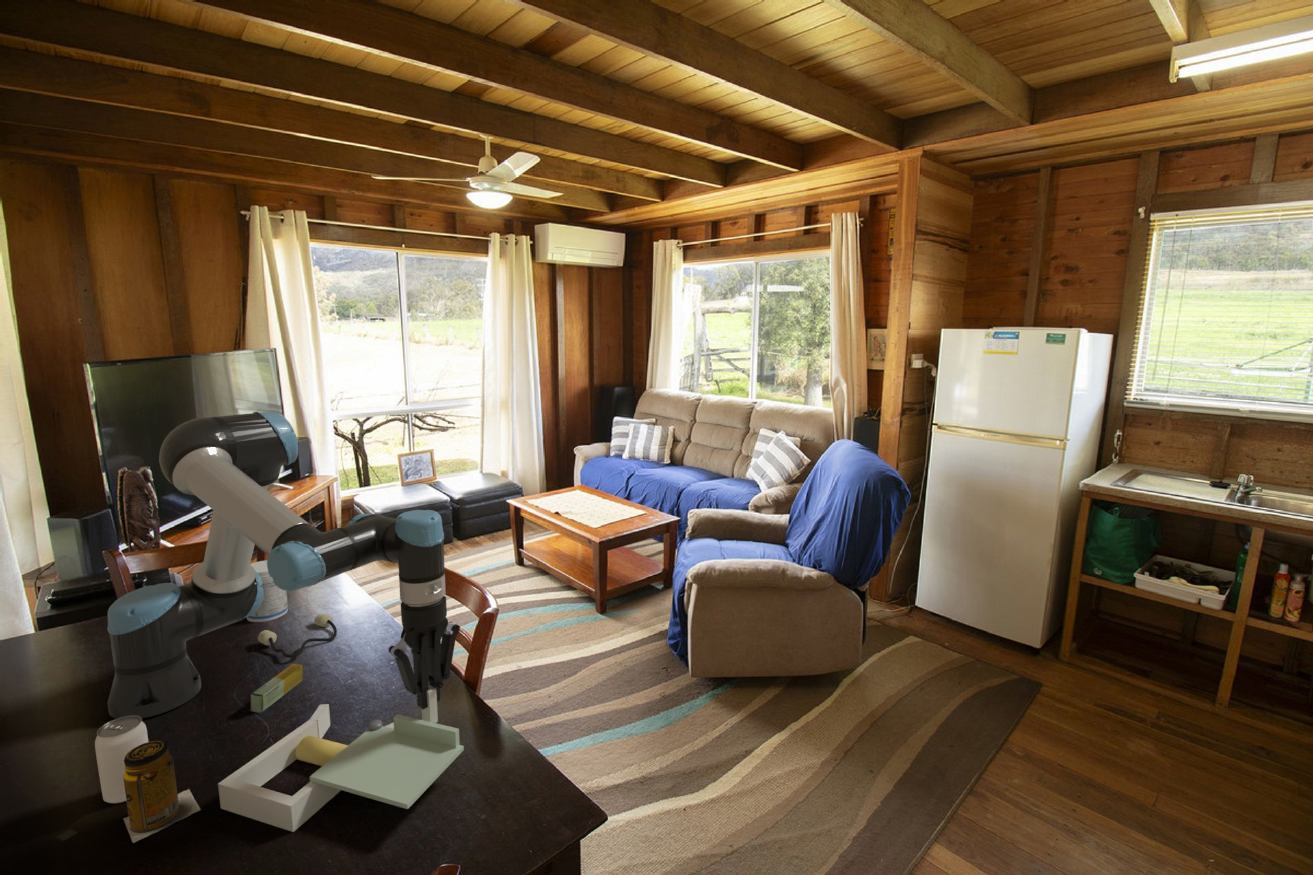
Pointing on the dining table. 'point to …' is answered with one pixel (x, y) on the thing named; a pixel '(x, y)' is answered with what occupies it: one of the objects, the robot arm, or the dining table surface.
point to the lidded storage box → (245, 783)
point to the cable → (320, 620)
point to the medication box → (276, 688)
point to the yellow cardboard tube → (317, 750)
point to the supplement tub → (269, 597)
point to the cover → (393, 760)
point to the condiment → (153, 791)
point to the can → (117, 753)
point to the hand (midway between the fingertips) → (430, 720)
